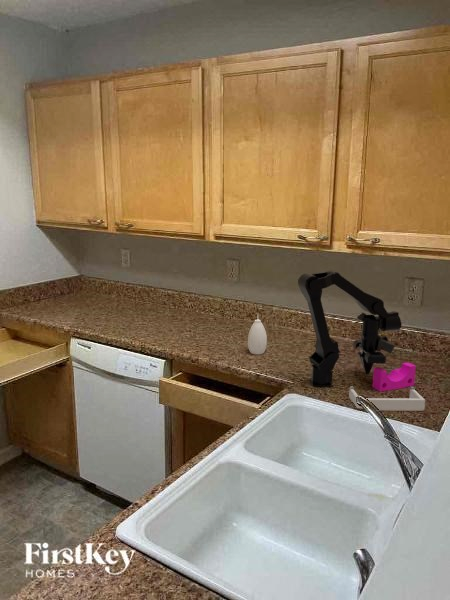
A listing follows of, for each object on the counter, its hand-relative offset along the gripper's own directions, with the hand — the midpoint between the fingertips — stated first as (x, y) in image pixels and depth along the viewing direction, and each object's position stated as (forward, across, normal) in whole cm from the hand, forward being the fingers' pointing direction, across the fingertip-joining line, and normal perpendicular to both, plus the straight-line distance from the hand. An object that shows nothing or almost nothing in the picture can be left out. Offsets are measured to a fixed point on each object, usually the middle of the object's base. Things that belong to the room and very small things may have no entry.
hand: (367, 373), depth 167 cm
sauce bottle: (+3, +27, +38) cm, 46 cm away
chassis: (+3, -19, 0) cm, 19 cm away
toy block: (+3, -4, -7) cm, 9 cm away
